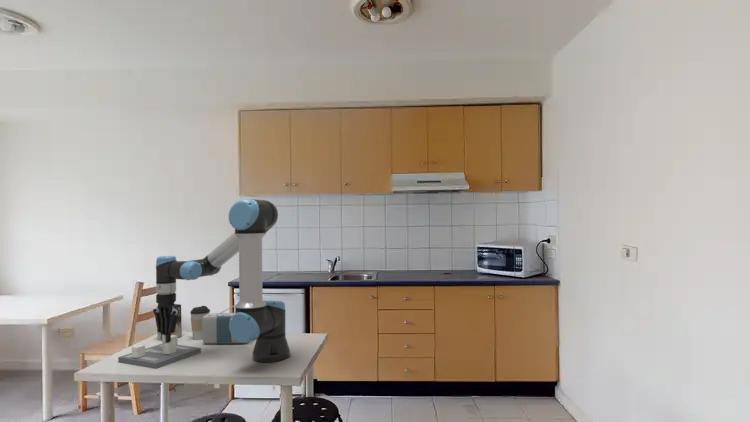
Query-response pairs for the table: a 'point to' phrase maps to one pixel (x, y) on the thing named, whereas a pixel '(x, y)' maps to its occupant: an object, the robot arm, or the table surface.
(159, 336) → the coffee box
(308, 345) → the table surface
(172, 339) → the breaker handle
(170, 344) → the block
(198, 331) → the coffee cup
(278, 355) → the robot arm
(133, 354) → the block
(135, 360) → the breaker panel
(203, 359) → the table surface
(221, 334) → the stereo radio cassette player
